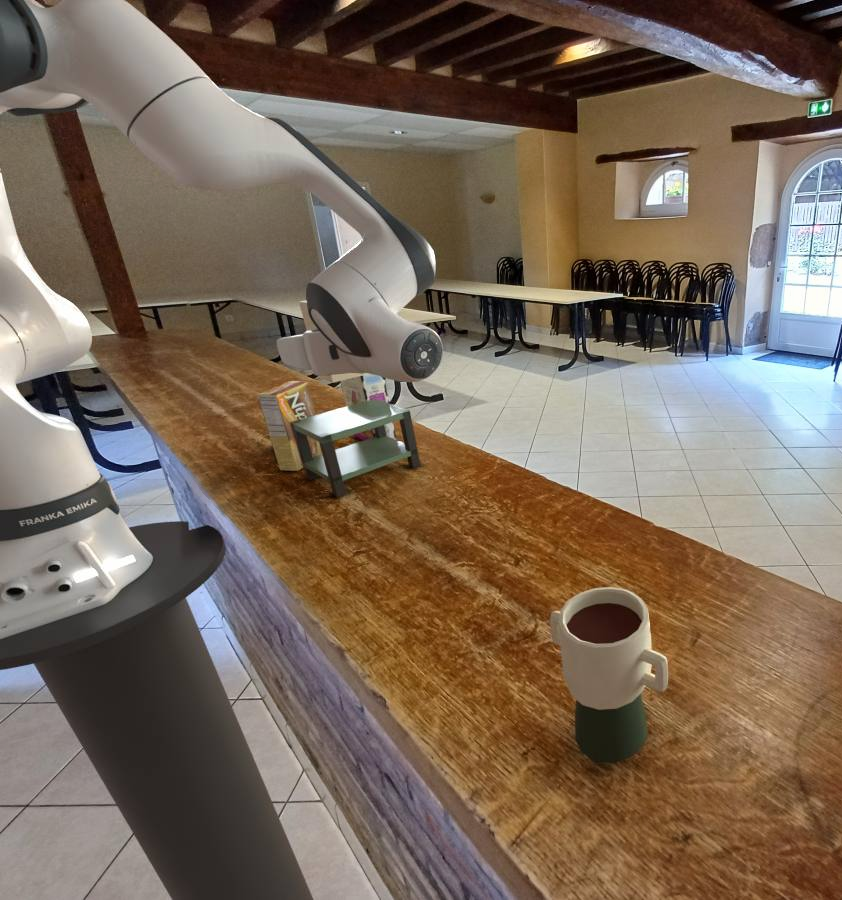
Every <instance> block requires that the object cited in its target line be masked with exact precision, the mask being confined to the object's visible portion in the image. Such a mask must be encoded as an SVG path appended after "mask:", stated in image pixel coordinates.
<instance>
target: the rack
mask: <svg viewBox="0 0 842 900" xmlns="http://www.w3.org/2000/svg"><path fill="white" fill-rule="evenodd" d="M398 421H399V425H400V429H401V434H402V440H403V441H400V440H398V439H397V440H395V439H393V438H391V437H388V436H387V435H386V430H385V424H389V423H392V422H393V423H395V422H398ZM290 424H291V427H292V430H293V434H294V437H295V441H296V444H297V448H298V451H299V455H300V458H301V462H302V465H303V468H302V469H303V473H304V475H305V478H306V479H307V480H309V481H311V480H314V479H317V478H319V477H321V478H323V479H325V480H326V481H328V482H329V484H330V488H331V491H332V495H333V496H334V497H335V498H340V497H342V496H345V495H347V490H346V487H345V483H344V481H347V480H350V479H352V478H354V477H358V476H360V475H363V474H366V473H368V472H371V471H373V470H377V469H379V468H382V467H385V466H387V465H390V464H393V463H395V462H399V461H401V460H404V459H406V458H407V459H406V460H407V463H408V466H409V467H410V468H412V469H416V468H417V467H420V466H421V460H420V455H419V449H418V445H417V444H418V443H417V439H416V434H415V430H414V425H413V420H412V413H411V410H410V409H407V408H405V407H401V406H398V405H396V404H392V403H390V402H389V403H386V402H383V401H380V400H377V399H372V400H369V401H365V402H361V403H358V404H354V405H351V406H347V407H346V406H343V407H340V408H336V409H333V410H329V411H325V412H322V413H318V414H316V415H314V416H311V417H307V418H304V419H300V420H296V421H293V422H290ZM373 428H374V432H375V436H376V437H373V438H370V439H367V440H364V441H362V440H361V441H359V442H356V443H352V444H349V445H346V446H343V447H340V448H337V449H336V448H335V445H334V441H337V440H340V439H344V438H347V437H350V436H353V434H357V433H360V432H363V431H366V430H369V429H373ZM307 436H308V437H310V438H312V439H314V440H316V441H318V442H319V444H320V448H321V451H322V454H321V455H318V456H315V457H313V456H312V453H311V449H310V446H309V442H308V438H307Z"/></svg>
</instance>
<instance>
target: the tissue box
mask: <svg viewBox="0 0 842 900" xmlns="http://www.w3.org/2000/svg"><path fill="white" fill-rule="evenodd" d="M298 303H299V307H300V312H301V314H302V318H303V322H304V326H305V330H306V331H311V330H313V329H317V327H316V326H315V325H314V323H313V322H312V320H311V318H310V316H309V313H308V308H307V302H306V300H301V301H300V300H299V301H298ZM363 375H364V374H359V373H344V374H334V375H324V376H318V379H320V380H324V381H326V382H329V383H332V384H333V383H338V382H340V381H342V380H346V379H350V378H355V377H359V376H363Z"/></svg>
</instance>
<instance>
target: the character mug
mask: <svg viewBox="0 0 842 900" xmlns="http://www.w3.org/2000/svg"><path fill="white" fill-rule="evenodd" d="M549 624H550V625H549V626H550V633H551V639H552V642H553V643H554V645H557V646H558V647H560V654H561V655H560V656H561V663H562V664H561V665H562V675H563V679H564V681H565V684H566V687H567V689H568V691H569V694H570V696H571V697H572V698H573V699H575V708H574V737H575V738H574V740H575V743H576V744H577V746H578V748H579V749H580V751H581V753H582V754H583V755H584V756H585V757H588V758H589V759H591V760H593V761H595V762H596V763H598V764H616V763H619V762H622V761H624V760H626V759H629V758H632V757H633V756H634V755H635V754H636V753H637V752H638V751H639V750H640V749H641V748H642V747H643V746H644V745H645V742H646V740H647V737H648V735H649V732H648V724H647V717H646V712H645V706H644V702H643V697H642V693H643V691H644V689H646V687H647V688H650V689H652V690H655V691H656V692H665V691H667V688H668V686H669V684H668V683H669V662H668V659H667V657H666V656H665V655H664V654H662V653H661V652H658V651H656V650H653V648H652V634H651V623H650V616H649V608H648V606H647V604H646V603H645V602H644V600H643V599H642V598H641V597H640V596H638V595H637V594H636V593H635V592H632V591H630V590H628V589H625V588H620V587H614V586H613V587H611V586H607V587H605V586H604V587H595V588H591V589H588V590H585V591H582V592H579V593H577V594H576V595H574V596H573V597H571V598H568V600H566V602H565V603H564V604H563V606H562V607H561V609H560V610H555V611H551V613H550V617H549ZM652 666H653V667H654V673H652Z"/></svg>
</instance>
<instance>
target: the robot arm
mask: <svg viewBox="0 0 842 900" xmlns="http://www.w3.org/2000/svg"><path fill="white" fill-rule="evenodd" d="M89 104H90V105H91V106H93V107H94V108H95V109H97V111H99V112H100V113H101V114H102V115H103V116H104V117H105V118H107V119H108V120H109V121H110V122H111V123H112V125H114V126H115V127H116V128H117V129H118V130H119V131H120V132H121V133H122V134H123V135H124V136H125V137H126V138H127V139H128V140H129V141H130V142H131V143H132V144H133V145H134V146H135V147H136V148H137V149H138V150H139V151H141V152H142V153H143V154H144V156H146V157H147V158H148V159H149V160H150V161H151V162H152V163H153V164H155V165H156V166H157V167H158V168H159V169H161V170H162V171H164V173H166V174H167V175H168V176H170V177H171V178H173V179H174V180H176V181H178V182H179V183H182V184H184V185H187V186H190V187H192V188H196V189H200V190H204V191H205V190H206V191H213V192H231V191H238V190H239V191H240V190H245V189H249V188H255V187H260V186H266V185H267V186H268V185H290V186H295V187H299V188H300V189H304V190H306V191H307V192H309V193H311V194H312V195H313V196H314V197H316V198H317V199H318V200H319V201H320V202H322V203H323V204H324V205H325V206H326V207H328V208H329V209H330V210H331V211H333V212H334V213H335V214H336V215H337V216H338V217H339V218H341V219H342V220H343V221H344V222H345V223H346V224H348V225H349V226H350V227H351V228H352V229H353V230H355V231H356V232H357V233H358V234H359V235H360V236H361V239H360V241H358V242H357V244H355V245H354V246H352V247H351V249H349V250H348V251H347V252H346V253H344V254H343V255H341V257H339V258H338V259H337V260H336V261H333V262H332V263H330V264H329V265H328V266H327V267H326V268H324V269H323V270H322V271H321V272H320V273H319V274H317V275H316V276H315V277H314V278H313V279H312V280H311V281H309V282H308V283H307V284H306V288H305V290H306V291H305V301H306V302H307V308H308V313H309V316H310V318H311V320H312V322H313V323H314V325H315V326H316V327H317V329H313V330H311V331H307V330H306V331H304V332H302V333H303V334H302V333H301V334H297V335H296V334H295V335H291V336H283V337H280V338H277V340H276V347H277V351H278V354H279V358H280V360H281V362H282V363H283V364H285V365H287V366H290V367H291V368H295V369H299V370H304V371H311V372H312V373H313V375H314V376H318V377H319V376H324V375H334V374H344V373H359V374H364V373H369V374H372V375H379V376H381V377H384V379H386V380H387V379H388V380H392V381H395V382H401V383H416V382H421V381H424V380H427V379H428V378H429V377H431V376H432V375H433V374H434V373H435V372H436V371H437V369H439V366H440V365H441V363H442V359H443V353H444V346H443V342H442V339H441V337H440V336H439V334H438V332H436V331H435V330H434V329H432V328H430V326H426V325H425V324H423V323H420V322H416V321H413V320H409V319H404V318H403V317H401V316H400V315H399V314H398V313H399V312H400V311H401V310H402V309H403V308H405V306H407V305H408V304H409V303H410V302H411V301H412V300H413V299H414V300H415V299H416V298H417V297H418V296H420V295H421V294H423V293H424V292H426V290H428V289H429V288H431V287H432V286H433V285H434V283H435V279H436V269H437V268H436V267H437V266H436V265H437V264H436V256H435V251H434V249H433V248H432V246H431V245H430V243H429V242H428V240H426V238H425V237H424V236H423V235H421V234H420V232H418V231H417V230H416V229H414V228H413V227H412V226H410V225H409V224H408V223H407V222H405V221H403V220H402V219H401V218H399V217H397V215H395V214H393V212H391V211H390V210H388V209H387V208H386V207H385V206H384V205H383V204H382V203H381V202H380V201H378V200H377V198H375V197H374V196H373V195H372V194H371V193H369V192H368V191H367V190H366V189H365V188H363V186H362V185H360V184H359V182H357V181H356V180H355V179H353V177H352V176H350V175H349V174H348V173H347V172H346V171H345V170H344V169H343V168H341V167H340V166H339V165H338V164H337V163H336V162H334V161H333V160H332V159H331V158H330V157H329V156H328V155H327V154H326V153H325V152H323V150H321V149H320V148H319V147H317V146H316V145H315V144H314V143H313V142H312V141H310V140H309V139H308V138H307V137H306V136H304V135H303V134H302V133H301V132H299V131H298V130H297V129H295V128H294V127H293V126H291V125H290V124H289V123H287V122H286V121H285V120H283V119H281V118H278V117H269V116H268V117H267V116H262V115H260V114H258V113H256V112H253V111H252V110H250V109H248V108H246V107H245V106H243V105H242V104H240V103H238V102H237V101H235V100H234V99H233V98H231V97H230V96H229V95H227V94H226V93H225V92H224V91H223V90H222V89H221V88H220V87H219V86H217V84H216V83H214V81H212V79H211V78H210V77H209V76H208V75H207V74H206V73H205V72H204V71H203V69H202V68H201V67H200V66H199V65H198V64H197V63H196V62H195V61H194V60H193V59H192V58H191V57H190V56H189V55H188V54H187V53H186V52H185V51H184V50H183V49H182V48H181V47H180V46H179V45H178V44H177V43H176V42H175V41H173V39H172V38H170V36H168V35H167V34H166V33H165V32H164V31H163V30H161V29H160V28H159V27H158V26H157V25H156V24H155V23H154V22H153V21H151V20H150V19H149V18H148V17H147V16H145V15H144V14H143V13H142V12H141V11H139V10H138V9H137V8H135V7H134V6H133V5H132V4H131V3H129V2H128V1H127V0H60V1H58V3H56V4H55V5H53V6H50V7H49V6H47V5H45V4H43V3H41V2H39V1H37V0H0V115H2V114H3V113H5V112H7V113H9V114H10V115H13V116H16V117H28V116H37V115H45V114H46V115H47V114H48V115H49V114H60V113H66V112H71V111H75V110H78V109H81V108H83V107H86V106H88V105H89ZM3 179H4V178H3V174H2V172H1V169H0V639H2V638H5V637H8V636H11V635H14V634H17V633H20V632H23V631H26V630H29V629H32V628H35V627H38V626H42V625H45V624H48V623H51V622H54V621H57V620H60V619H63V618H66V617H69V616H72V615H75V614H78V613H81V612H84V611H87V610H90V609H93V608H96V607H99V606H101V605H104V604H106V603H108V602H109V601H111V600H112V599H113V598H114V597H115V596H116V595H117V594H118V593H119V591H120V590H121V589H122V588H124V587H125V586H126V585H128V584H129V583H131V582H132V581H134V580H135V579H137V578H138V577H139V576H141V575H142V574H143V573H144V572H145V571H146V570H147V569H148V568H149V567H150V565H151V563H152V561H153V556H152V555H151V554H150V553H149V552H148V551H147V550H146V549H145V548H144V547H143V546H142V545H141V543H140V542H139V541H138V540H137V539H136V537H135V536H134V535H133V533H132V532H131V531H130V529H129V528H128V527H129V526H128V524H127V523H126V522H125V520H124V519H123V517H122V515H121V513H120V504H119V502H118V501H119V500H118V499H117V497H116V494H115V492H114V490H113V488H112V486H111V484H110V482H109V481H108V480H107V478H106V476H105V475H104V473H100V471H99V470H98V467H97V465H96V463H95V461H94V460H95V459H94V458H93V456H92V454H91V451H90V449H89V447H88V445H87V443H86V440H85V438H84V436H83V434H82V432H81V429H80V428H79V426H77V425H76V424H75V423H74V422H73V421H72V420H70V419H68V418H66V417H63V416H60V415H57V414H52V413H47V412H41V411H39V410H38V409H36V408H35V407H34V406H32V405H31V404H30V403H29V402H28V401H27V400H26V399H25V397H24V396H23V394H22V393H21V392H20V390H19V389H18V387H17V384H21V383H24V382H28V381H32V380H34V379H38V378H41V377H45V376H48V375H52V374H55V373H57V372H59V371H61V370H63V369H65V368H67V367H68V366H70V365H72V364H73V363H75V362H76V361H78V360H80V359H81V358H83V357H84V356H86V355H87V354H88V352H89V351H90V349H91V347H92V343H93V334H92V333H93V332H92V330H91V329H92V328H91V325H90V324H89V322H88V319H87V317H86V316H85V315H84V314H83V312H82V311H81V310H80V309H79V308H78V307H77V306H76V305H75V304H74V303H72V302H71V301H70V300H68V299H67V298H65V297H63V296H61V295H59V294H58V293H56V292H55V291H54V290H52V289H51V288H50V287H49V285H47V284H46V282H44V280H43V279H42V278H41V277H40V275H39V274H38V272H37V271H36V269H35V268H34V267H33V265H32V263H31V262H30V260H29V258H28V257H27V255H26V252H25V250H24V249H23V246H22V244H21V242H20V239H19V237H18V233H17V229H16V225H15V222H14V218H13V215H12V212H11V207H10V203H9V200H8V196H7V192H6V188H5V187H6V186H5V183H4V180H3Z"/></svg>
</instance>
